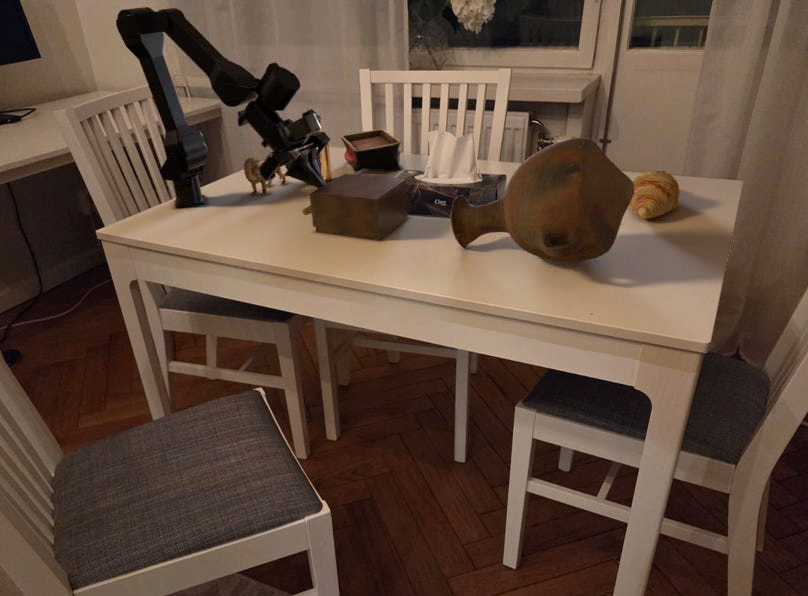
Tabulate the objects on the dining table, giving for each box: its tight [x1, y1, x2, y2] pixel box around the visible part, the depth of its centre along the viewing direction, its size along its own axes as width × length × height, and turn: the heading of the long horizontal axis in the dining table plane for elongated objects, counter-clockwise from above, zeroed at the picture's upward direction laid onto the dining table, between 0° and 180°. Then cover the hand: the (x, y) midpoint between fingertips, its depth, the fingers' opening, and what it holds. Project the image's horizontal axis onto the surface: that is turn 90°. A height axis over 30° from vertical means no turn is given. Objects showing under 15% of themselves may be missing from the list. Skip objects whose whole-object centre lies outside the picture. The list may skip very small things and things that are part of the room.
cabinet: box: [311, 173, 408, 241], centre depth 124 cm, size 14×13×8 cm
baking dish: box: [340, 128, 402, 173], centre depth 161 cm, size 14×18×10 cm
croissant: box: [629, 170, 680, 220], centre depth 126 cm, size 21×10×8 cm, turn 156°
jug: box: [449, 137, 634, 263], centre depth 105 cm, size 20×20×30 cm
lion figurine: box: [243, 156, 287, 196], centre depth 147 cm, size 15×5×9 cm, turn 162°
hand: (324, 187), depth 126 cm, fingers closed, pressing on drawer
